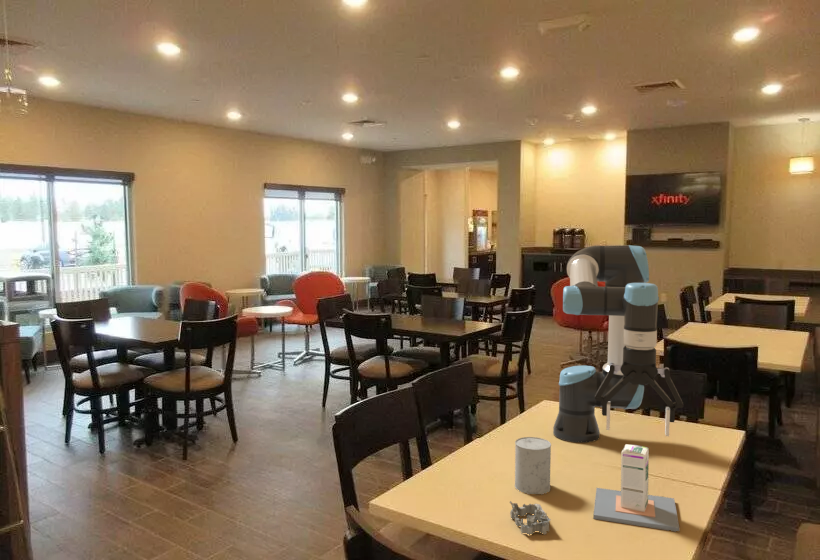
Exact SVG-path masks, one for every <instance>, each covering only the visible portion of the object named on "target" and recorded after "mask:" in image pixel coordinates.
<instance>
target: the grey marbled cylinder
mask: <svg viewBox="0 0 820 560" xmlns="http://www.w3.org/2000/svg"><path fill="white" fill-rule="evenodd" d="M514 445H515V447H514V448H515V451H514V452H515V458H514V459H515V460H514V461H515V462H514V463H515V464H514V470H515V471H514V489H515V490H517V489H518V490H519V491H518V490H517V491H518V492H520V491H521V493H522V492H524V493H523V494H525V493H527V494H526V495H530V494H541V495H545V494H547V492H548V493H549V492H550V491H551V455H552V453H551V451H552V450H551V449H552V443H551V442H550V441H549V440H548V439H545V438H541V437H534V436H527V437H520V438H518V439H516V440H515V443H514ZM544 493H545V494H544Z"/></svg>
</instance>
